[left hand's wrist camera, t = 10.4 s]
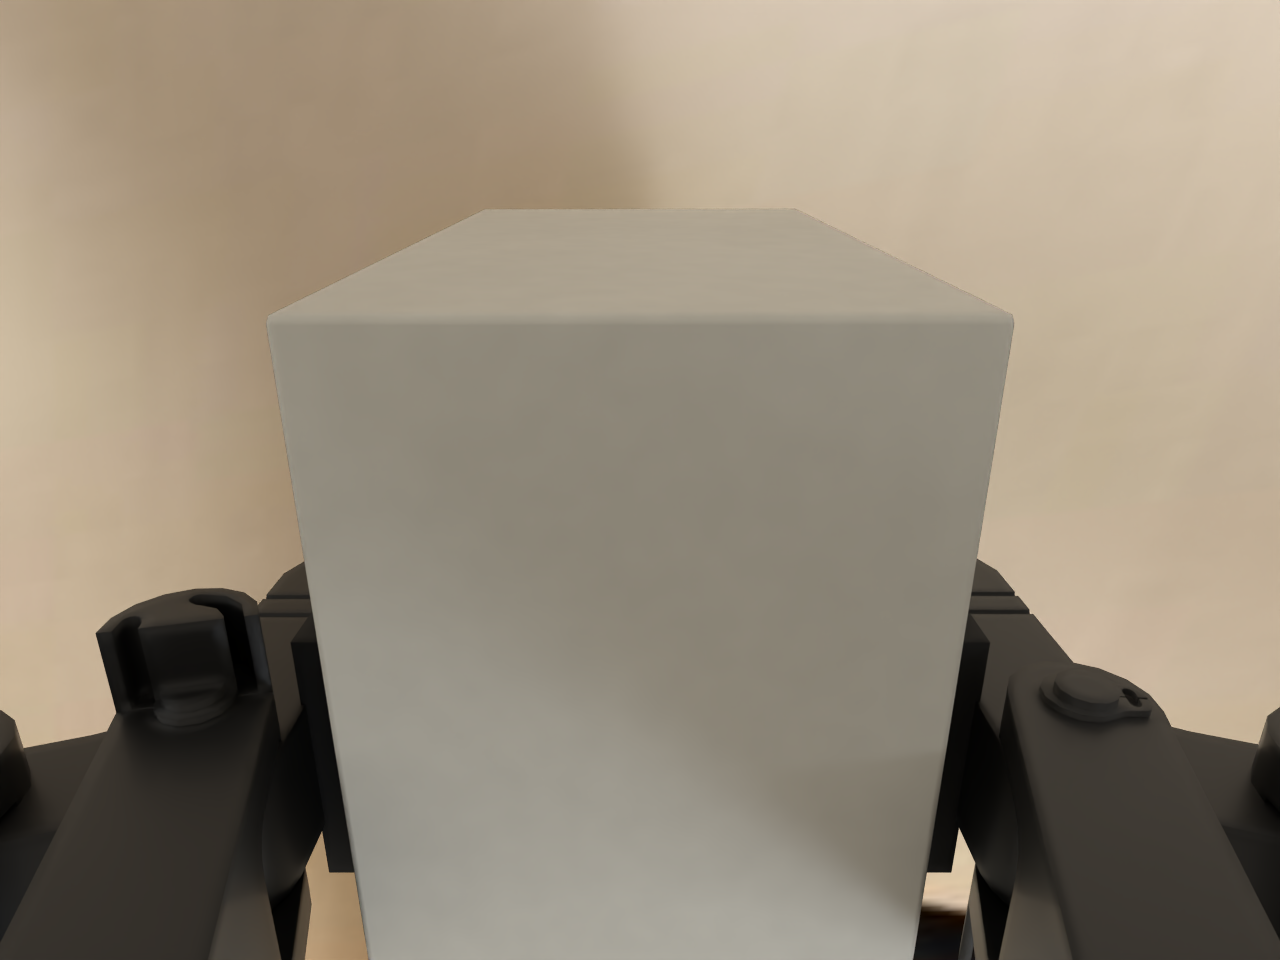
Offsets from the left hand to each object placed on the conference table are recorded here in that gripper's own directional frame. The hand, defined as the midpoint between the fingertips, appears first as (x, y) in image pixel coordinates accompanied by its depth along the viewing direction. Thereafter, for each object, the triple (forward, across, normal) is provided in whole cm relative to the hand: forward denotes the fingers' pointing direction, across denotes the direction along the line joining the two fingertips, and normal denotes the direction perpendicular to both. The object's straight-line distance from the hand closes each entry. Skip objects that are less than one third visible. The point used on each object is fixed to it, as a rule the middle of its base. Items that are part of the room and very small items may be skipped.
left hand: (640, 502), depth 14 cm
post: (+1, 0, -24) cm, 24 cm away
